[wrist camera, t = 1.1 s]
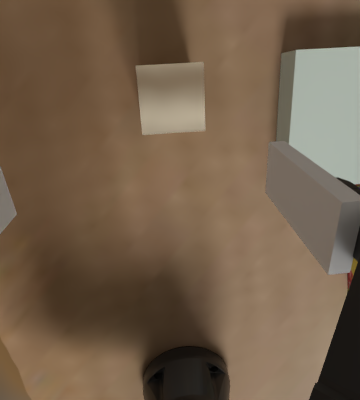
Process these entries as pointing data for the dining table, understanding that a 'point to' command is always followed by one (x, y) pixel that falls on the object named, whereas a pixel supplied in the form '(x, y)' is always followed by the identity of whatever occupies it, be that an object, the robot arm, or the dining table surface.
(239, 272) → the dining table surface
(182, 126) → the maple block
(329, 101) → the sage base plate
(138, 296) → the dining table surface
